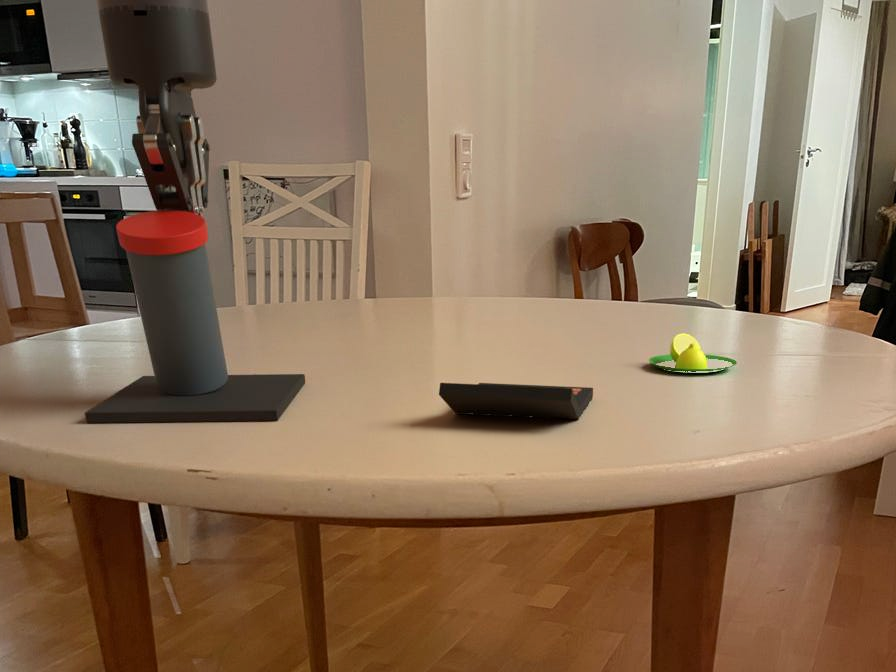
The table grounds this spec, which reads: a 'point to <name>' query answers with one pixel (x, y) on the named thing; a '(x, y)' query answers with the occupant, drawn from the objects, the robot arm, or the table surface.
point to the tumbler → (175, 299)
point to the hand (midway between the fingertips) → (191, 270)
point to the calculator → (516, 399)
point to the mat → (201, 401)
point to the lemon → (687, 356)
